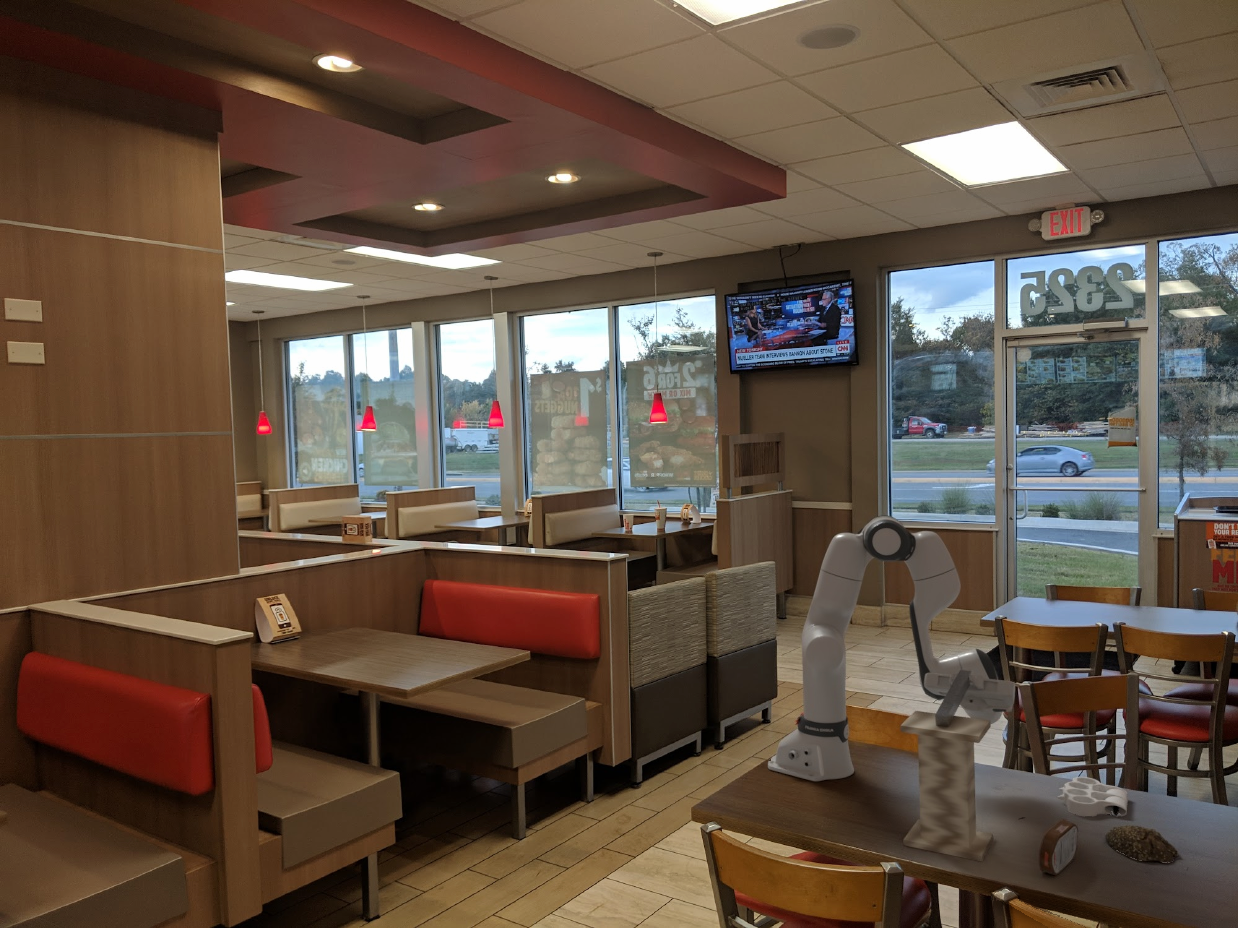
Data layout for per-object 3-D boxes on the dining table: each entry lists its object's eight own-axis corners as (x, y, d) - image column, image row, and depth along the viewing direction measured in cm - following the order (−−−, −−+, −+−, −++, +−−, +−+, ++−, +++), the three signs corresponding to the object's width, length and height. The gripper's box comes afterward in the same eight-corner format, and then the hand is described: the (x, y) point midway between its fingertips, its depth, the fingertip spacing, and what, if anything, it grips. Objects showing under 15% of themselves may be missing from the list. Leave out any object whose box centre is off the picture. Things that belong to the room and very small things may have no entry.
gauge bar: (948, 727, 194) (947, 716, 194) (935, 725, 195) (935, 714, 195) (971, 680, 214) (971, 670, 213) (960, 679, 215) (960, 669, 215)
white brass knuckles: (1126, 824, 204) (1054, 813, 212) (1128, 796, 220) (1061, 786, 227) (1125, 809, 204) (1053, 798, 212) (1128, 782, 220) (1060, 773, 227)
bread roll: (1098, 838, 198) (1097, 815, 198) (1156, 837, 197) (1155, 814, 197) (1129, 865, 185) (1128, 841, 185) (1191, 864, 185) (1191, 840, 184)
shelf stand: (903, 844, 197) (900, 725, 196) (918, 824, 207) (915, 710, 206) (981, 861, 188) (978, 736, 188) (993, 838, 198) (990, 720, 198)
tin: (1065, 852, 191) (1064, 812, 191) (1081, 856, 189) (1080, 816, 189) (1037, 877, 181) (1036, 835, 181) (1053, 883, 179) (1053, 840, 178)
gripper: (932, 676, 229) (918, 659, 218) (1020, 686, 218) (1010, 668, 207) (929, 701, 226) (915, 685, 216) (1018, 712, 215) (1008, 696, 205)
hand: (962, 677), depth 212 cm, fingers closed on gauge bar, 2 cm apart
